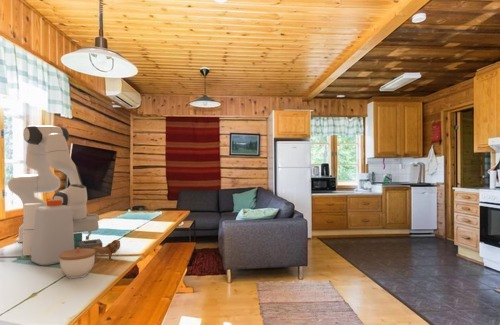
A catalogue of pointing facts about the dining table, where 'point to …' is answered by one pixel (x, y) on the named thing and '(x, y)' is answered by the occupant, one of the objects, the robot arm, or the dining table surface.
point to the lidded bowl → (77, 262)
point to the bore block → (89, 244)
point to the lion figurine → (107, 249)
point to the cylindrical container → (29, 226)
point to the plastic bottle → (52, 232)
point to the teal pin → (77, 239)
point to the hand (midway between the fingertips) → (77, 240)
